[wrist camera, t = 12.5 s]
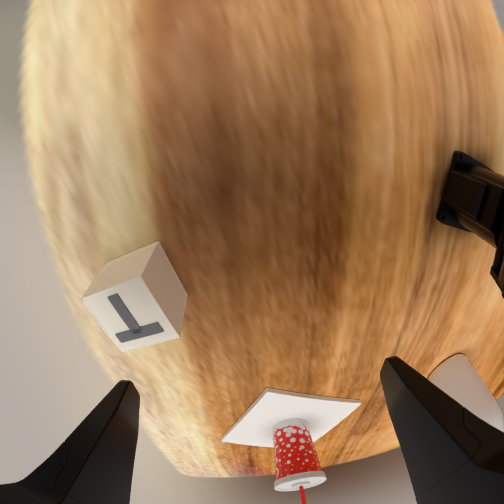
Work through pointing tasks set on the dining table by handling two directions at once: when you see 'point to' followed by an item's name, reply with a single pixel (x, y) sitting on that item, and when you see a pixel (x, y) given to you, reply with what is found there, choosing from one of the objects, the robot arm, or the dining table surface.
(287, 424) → the beverage cup
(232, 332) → the dining table surface
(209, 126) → the dining table surface
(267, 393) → the mat
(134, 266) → the letter block
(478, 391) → the milk bottle
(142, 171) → the dining table surface
